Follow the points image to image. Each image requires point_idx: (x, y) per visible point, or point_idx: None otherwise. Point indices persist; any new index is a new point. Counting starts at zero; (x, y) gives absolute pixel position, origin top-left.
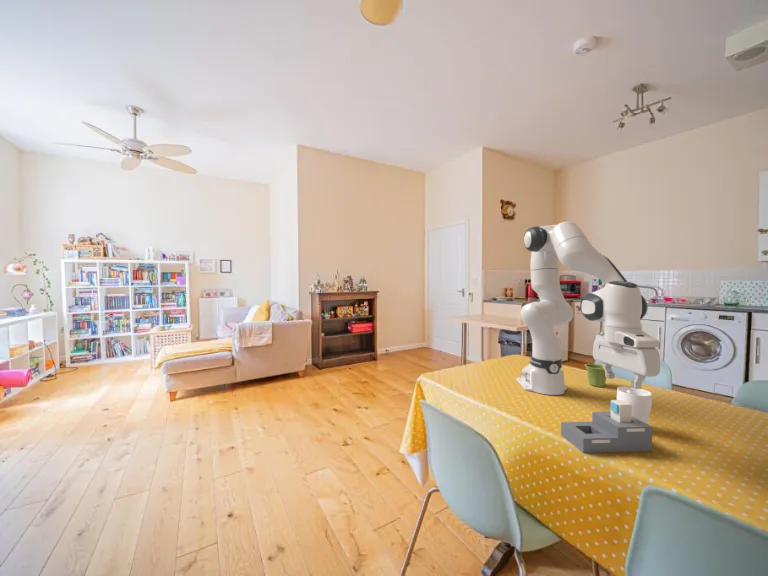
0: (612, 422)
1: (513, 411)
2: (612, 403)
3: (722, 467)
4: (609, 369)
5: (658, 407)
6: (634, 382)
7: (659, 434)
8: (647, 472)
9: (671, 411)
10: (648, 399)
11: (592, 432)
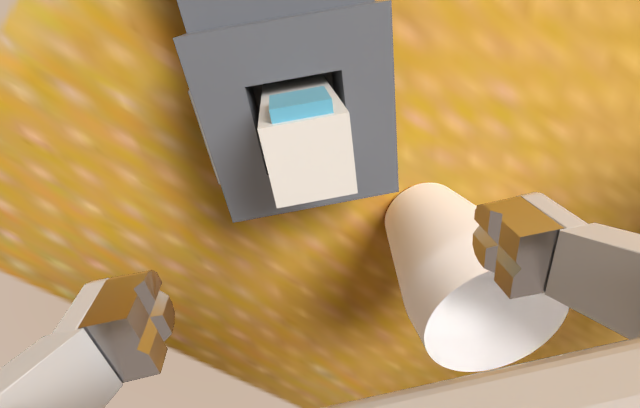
0: (240, 44)
1: None
2: (310, 100)
3: (187, 300)
4: (595, 292)
5: (539, 352)
6: (69, 330)
7: (368, 263)
8: (53, 56)
9: (509, 365)
10: (417, 332)
11: None
